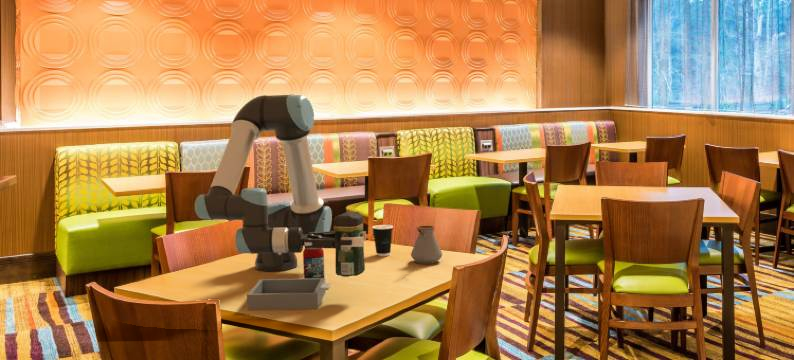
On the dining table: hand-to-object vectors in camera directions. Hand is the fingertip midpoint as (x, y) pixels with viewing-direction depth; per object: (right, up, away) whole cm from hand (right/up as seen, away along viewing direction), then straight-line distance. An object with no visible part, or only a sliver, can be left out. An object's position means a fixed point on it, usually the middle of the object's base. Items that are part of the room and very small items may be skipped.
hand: (364, 238), depth 223 cm
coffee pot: (+19, -13, +46) cm, 52 cm away
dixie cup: (+4, -11, +65) cm, 66 cm away
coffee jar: (-4, -11, +1) cm, 12 cm away
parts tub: (-22, -19, +3) cm, 29 cm away
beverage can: (-18, -16, +25) cm, 35 cm away
